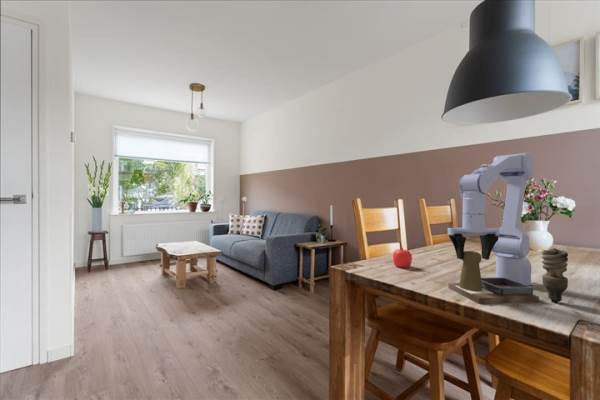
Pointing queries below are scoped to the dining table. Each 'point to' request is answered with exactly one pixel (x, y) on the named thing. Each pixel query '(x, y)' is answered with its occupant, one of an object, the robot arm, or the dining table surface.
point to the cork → (471, 272)
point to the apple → (402, 258)
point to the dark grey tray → (513, 289)
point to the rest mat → (477, 291)
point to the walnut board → (494, 296)
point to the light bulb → (555, 273)
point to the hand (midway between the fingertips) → (472, 258)
